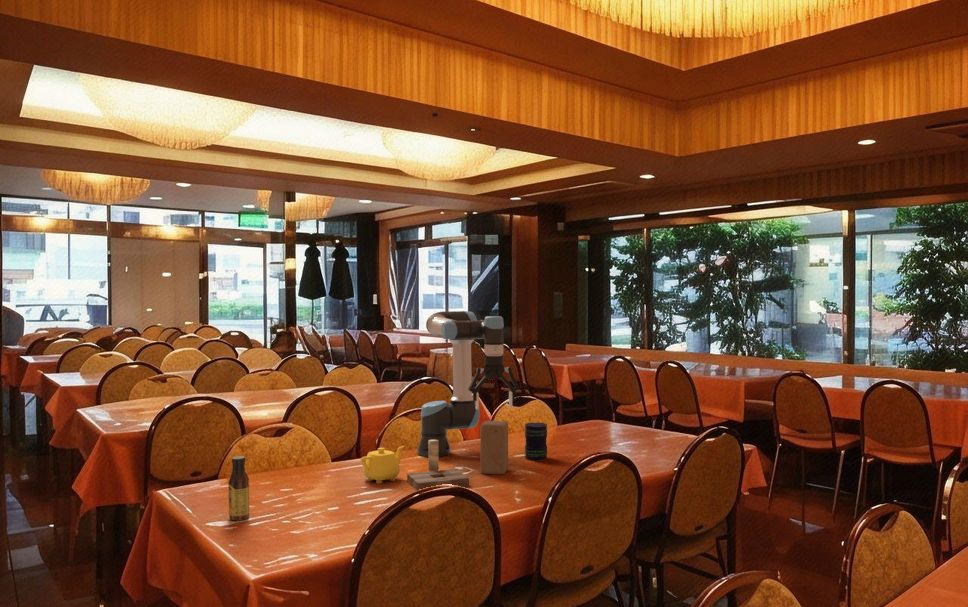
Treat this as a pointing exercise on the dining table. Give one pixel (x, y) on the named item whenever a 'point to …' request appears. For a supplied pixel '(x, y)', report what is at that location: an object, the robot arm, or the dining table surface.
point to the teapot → (381, 465)
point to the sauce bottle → (238, 490)
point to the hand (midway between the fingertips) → (493, 408)
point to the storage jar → (536, 441)
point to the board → (437, 478)
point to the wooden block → (494, 447)
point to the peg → (433, 455)
